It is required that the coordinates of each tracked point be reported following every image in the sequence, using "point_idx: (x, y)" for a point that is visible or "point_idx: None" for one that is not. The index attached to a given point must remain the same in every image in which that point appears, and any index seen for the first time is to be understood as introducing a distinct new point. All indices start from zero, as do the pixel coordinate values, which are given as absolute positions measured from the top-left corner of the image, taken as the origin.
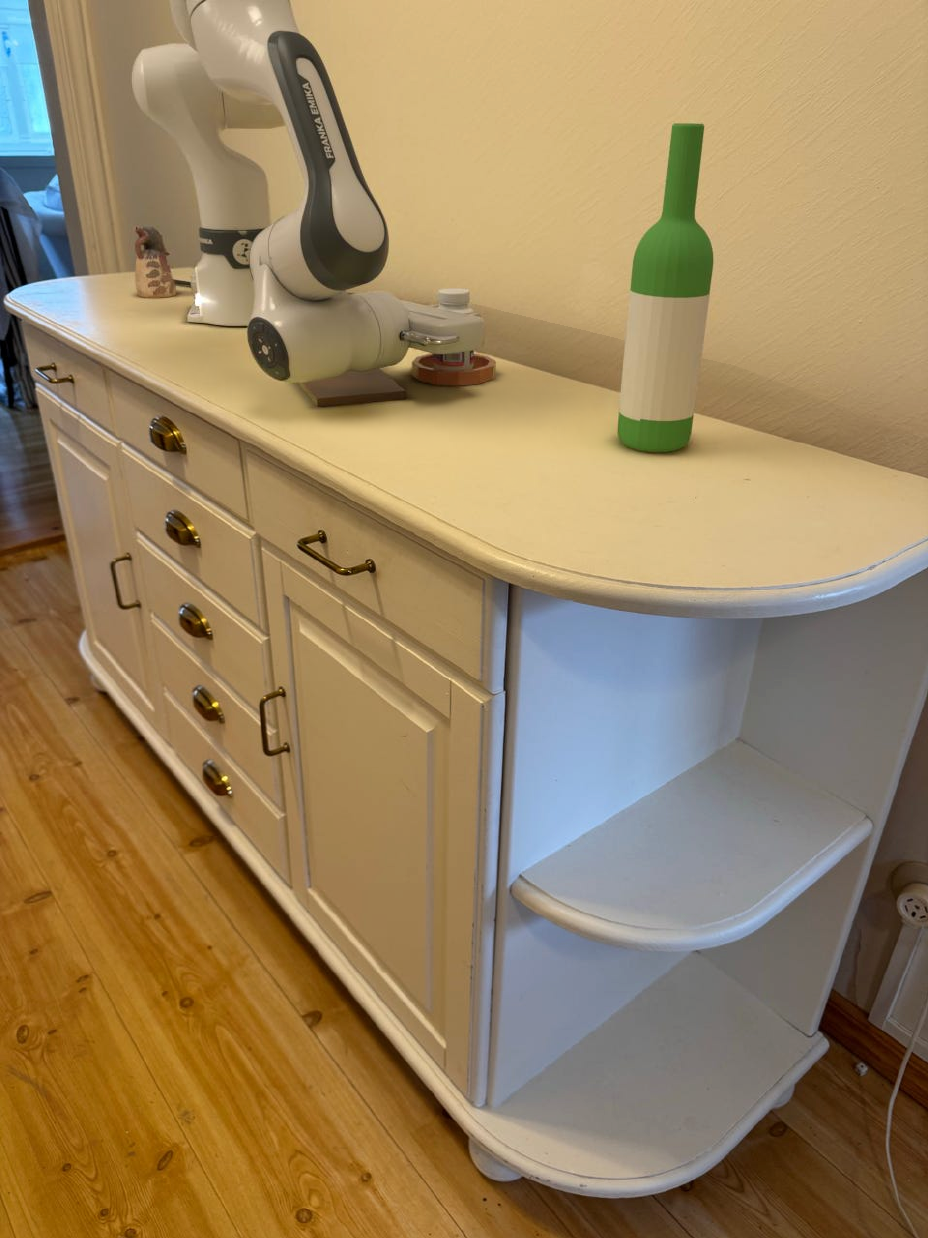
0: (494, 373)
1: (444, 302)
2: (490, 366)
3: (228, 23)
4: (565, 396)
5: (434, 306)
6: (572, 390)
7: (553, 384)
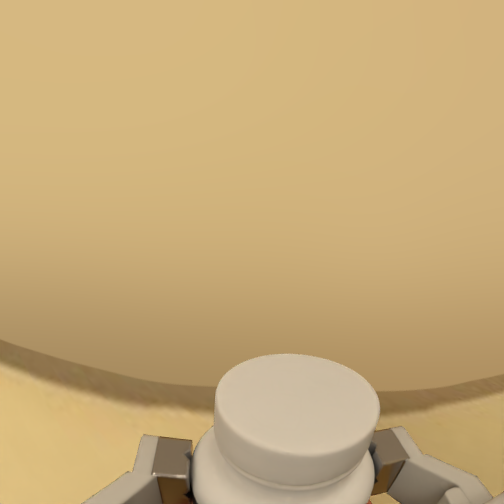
0: None
1: (321, 482)
2: (369, 501)
3: None
4: (493, 451)
5: (171, 466)
6: (463, 434)
7: (426, 442)
